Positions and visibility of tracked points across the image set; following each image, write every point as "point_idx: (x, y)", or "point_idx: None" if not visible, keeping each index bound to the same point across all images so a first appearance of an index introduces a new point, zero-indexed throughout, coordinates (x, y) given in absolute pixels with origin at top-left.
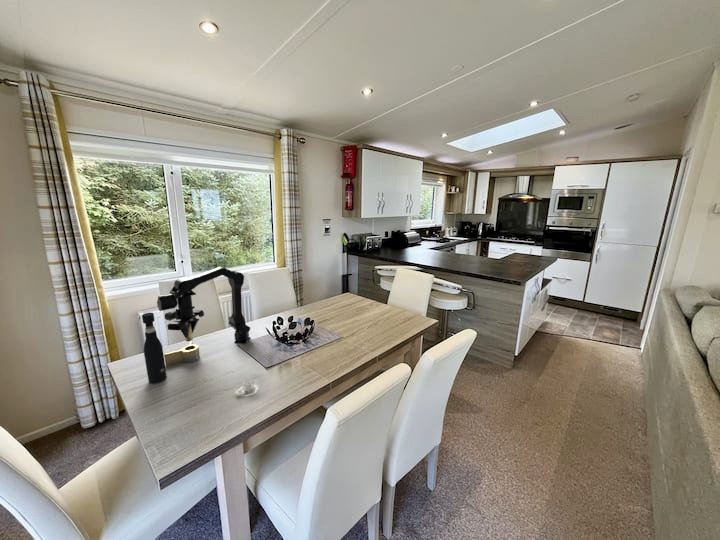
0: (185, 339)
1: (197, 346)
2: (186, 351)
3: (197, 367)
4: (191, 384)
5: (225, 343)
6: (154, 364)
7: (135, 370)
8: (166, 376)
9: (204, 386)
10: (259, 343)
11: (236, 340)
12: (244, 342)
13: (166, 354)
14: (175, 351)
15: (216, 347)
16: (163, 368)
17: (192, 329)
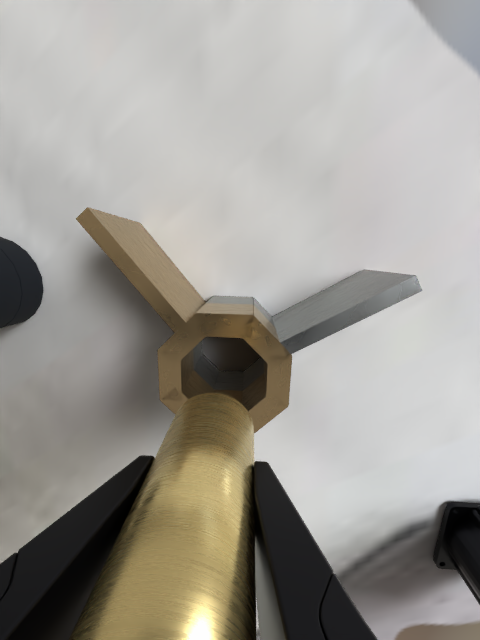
0: (179, 413)
1: (255, 425)
2: (160, 383)
3: (147, 424)
4: (9, 469)
5: (447, 451)
6: None
7: (50, 32)
8: (19, 322)
9: (11, 525)
10: (424, 620)
11: (471, 516)
12: (437, 561)
13: (92, 233)
14: (147, 288)
15: (390, 420)
16: None
17: (260, 620)
